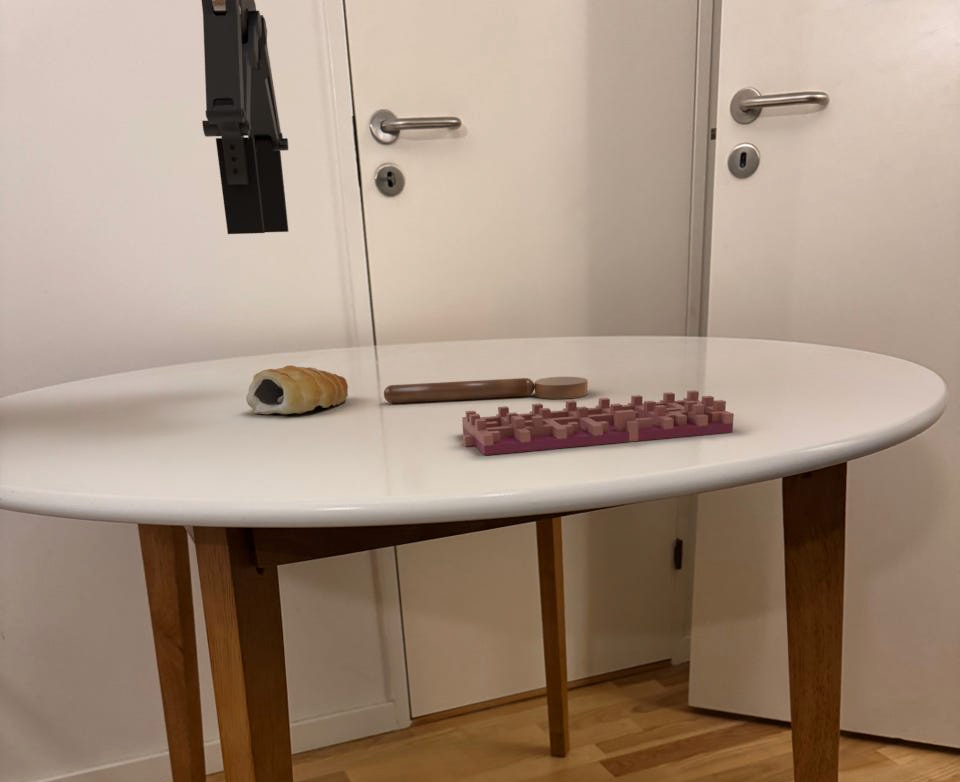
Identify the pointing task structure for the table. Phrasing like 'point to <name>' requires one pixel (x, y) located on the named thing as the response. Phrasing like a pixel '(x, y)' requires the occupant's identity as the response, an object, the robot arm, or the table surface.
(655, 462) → the table surface
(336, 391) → the pastry
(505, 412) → the pink studded slab
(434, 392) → the wooden spoon
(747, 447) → the table surface
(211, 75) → the robot arm
